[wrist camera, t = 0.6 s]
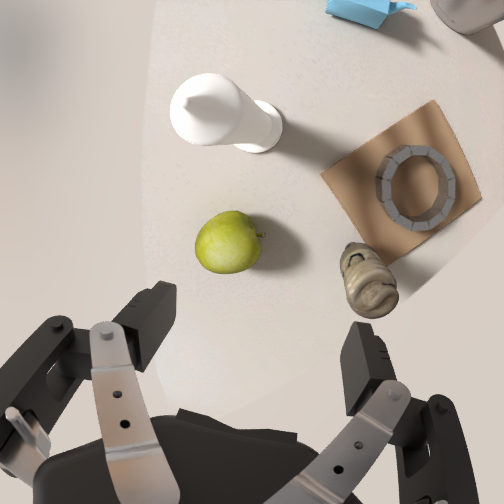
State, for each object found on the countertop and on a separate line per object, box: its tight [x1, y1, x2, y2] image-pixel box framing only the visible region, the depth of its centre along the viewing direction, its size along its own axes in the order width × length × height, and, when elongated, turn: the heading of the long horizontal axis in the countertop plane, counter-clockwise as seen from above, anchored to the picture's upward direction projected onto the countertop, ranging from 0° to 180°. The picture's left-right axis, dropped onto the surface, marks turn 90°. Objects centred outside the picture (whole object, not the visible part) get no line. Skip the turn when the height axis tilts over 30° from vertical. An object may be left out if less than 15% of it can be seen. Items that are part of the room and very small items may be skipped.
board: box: [320, 100, 482, 266], centre depth 34 cm, size 20×16×1 cm
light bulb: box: [340, 242, 399, 319], centre depth 32 cm, size 6×6×15 cm
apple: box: [195, 211, 266, 274], centre depth 37 cm, size 8×9×8 cm
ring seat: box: [375, 145, 455, 231], centre depth 32 cm, size 11×11×3 cm
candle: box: [170, 73, 283, 153], centre depth 23 cm, size 7×7×25 cm
